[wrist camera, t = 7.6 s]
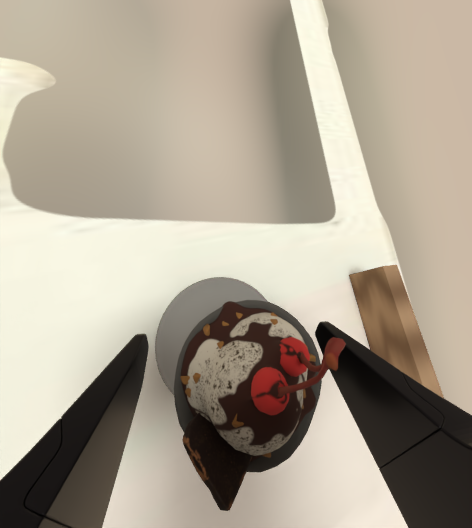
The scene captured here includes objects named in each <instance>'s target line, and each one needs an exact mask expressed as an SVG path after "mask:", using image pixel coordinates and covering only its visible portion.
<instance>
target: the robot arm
mask: <svg viewBox="0 0 472 528" xmlns="http://www.w3.org/2000/svg"><path fill="white" fill-rule="evenodd" d="M315 335H316V338H317V341H318V343H319V346H320V349H321V351H322V354H323V356H324V354H325V348H326V345H327V343H328V341H329V340H330V339H331V338H333V337H334V338H340V339H343V340H344V342H345V343H346V345H345V347H344V349H343V350H342V351H341V353H340V355H339V356H338V369H337V370H336V371H335V370H333V369H331V368H330V369H329V370H330V372H331V374H332V376H333V378H334V380H335V382H336V384H337V386H338V388H339V390H340V392H341V394H342V396H343V398H344V400H345V402H346V404H347V406H348V408H349V410H350V412H351V414H352V416H353V418H354V420H355V422H356V424H357V426H358V428H359V430H360V432H361V434H362V436H363V438H364V440H365V442H366V444H367V446H368V448H369V450H370V452H371V454H372V456H373V457H374V459H375V461H376V463H377V465H378V467H379V468H380V469H379V470H380V472H381V474H382V476H383V478H384V480H385V482H386V484H387V486H388V488H389V490H390V492H391V494H392V496H393V498H394V500H395V502H396V504H397V506H398V508H399V510H400V512H401V514H402V516H403V518H404V520H405V522H406V524H407V526H408V528H472V415H470V414H468V413H467V412H465V411H463V410H462V409H460V408H458V407H457V406H455V405H454V404H452V403H450V402H449V401H447V400H445V399H444V398H442V397H441V396H439V395H437V394H436V393H434V392H432V391H431V390H429V389H428V388H426V387H424V386H423V385H421V384H420V383H418V382H417V381H415V380H414V379H412V378H411V377H409V376H408V375H406V374H405V373H403V372H401V371H400V370H399V369H397V368H396V367H394V366H393V365H391V364H390V363H388V362H387V361H386V360H384V359H383V358H381V357H380V356H378V355H377V354H375V353H374V352H372V351H371V350H369V349H368V348H366V347H365V346H363V345H362V344H360V343H359V342H357V341H356V340H354V339H353V338H351V337H350V336H348V335H347V334H345V333H344V332H342V331H341V330H339V329H338V328H337V327H335V326H334V325H332V324H331V323H329V322H326V321H325V322H320V323H319V325H318V327H317V329H316V331H315ZM148 348H149V346H148V341H147V336H146V334H137V335H135V336H134V337H133V338H132V339H131V340H130V342H129V343H128V344H127V345H126V346H125V347H124V348H123V349H122V350H121V351H120V353H119V354H118V355H117V356H116V357H115V358H114V359H113V360H112V361H111V362H110V364H109V365H108V366H107V367H106V368H105V369H104V370H103V371H102V372H101V374H100V375H99V376H98V377H97V378H96V379H95V380H94V381H93V382H92V383H91V385H90V386H89V387H88V388H87V389H86V390H85V391H84V392H83V393H82V395H81V396H80V397H79V398H78V399H77V400H76V401H75V402H74V403H73V404H72V406H71V407H70V408H69V409H68V410H67V411H66V412H65V413H64V414H63V415H62V417H61V419H59V420H58V421H57V422H56V423H55V424H54V425H53V426H52V427H51V429H50V430H49V431H48V432H47V433H46V434H45V435H44V436H43V437H42V438H41V439H40V440H39V442H38V443H37V444H36V445H35V446H34V447H33V448H32V449H31V450H30V451H29V452H28V453H27V454H26V455H25V456H24V457H23V458H22V459H21V460H20V461H19V462H18V463H17V464H16V465H15V466H14V467H13V468H12V469H11V470H10V471H9V472H8V473H7V474H6V475H5V476H4V477H3V478H2V479H1V480H0V528H102V525H103V522H104V518H105V515H106V511H107V508H108V504H109V501H110V497H111V494H112V490H113V487H114V483H115V480H116V476H117V473H118V469H119V466H120V462H121V459H122V455H123V451H124V448H125V444H126V441H127V437H128V434H129V430H130V427H131V423H132V420H133V416H134V413H135V409H136V406H137V402H138V399H139V395H140V392H141V388H142V384H143V378H144V372H145V367H146V361H147V355H148Z"/></svg>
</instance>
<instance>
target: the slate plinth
mask: <svg viewBox="0 0 472 528" xmlns="http://www.w3.org/2000/svg"><path fill="white" fill-rule="evenodd" d="M244 300H260V301H265V302H267V300H266V299H265V298H264V297H263V296H262V294H260V293H259V292H258V291H257V290H256V289H254V288H253V287H252V286H250V285H248V284H246V283H244V282H242V281H239V280H236V279H232V278H224V277H219V278H210V279H205V280H202V281H199V282H197V283H195V284H192V285H191V286H189V287H187V288H186V289H185V290H183V291H182V292H181V293H179V294H178V295H177V296H176V297H175V298H174V299H173V301H172V302H171V303H170V305H169V306H168V307H167V309H166V311H165V312H164V314H163V316H162V318H161V321H160V323H159V327H158V330H157V335H156V341H155V353H156V361H157V366H158V369H159V372H160V375H161V377H162V379H163V381H164V383H165V384H166V386H167V387H168V389H169V390H170V391H171V392H172V394H174V381H175V373H176V367H177V363H178V358H179V354H180V352H181V350H182V347H183V345H184V343H185V341H186V339H187V338H188V336H189V334H190V333H191V331H192V330H193V329H194V328H195V326H196V325H197V324H198V323H199V322H200V321H201V320H202V319H204V318H205V317H206V316H208V315H209V314H210V313H212V312H214V311H215V310H217V309H219V308H220V307H222V306H223V304H224V303H226V302H228V301H232V302H239V301H244Z"/></svg>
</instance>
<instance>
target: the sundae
mask: <svg viewBox="0 0 472 528" xmlns="http://www.w3.org/2000/svg"><path fill="white" fill-rule="evenodd" d="M345 345H346V343H345V342H344V340H343V339H340V338H334V337H333V338H331V339H330V340H329V341H328V343H327V345H326V348H325V354H324V356H323V360H322V364H320V359H319V355H318V352H317V350H316V347H315V345H314V342H313V340H312V338H311V337H310V336H309V334H308V333H307V331H306V330H305V328H304V327H303V326H302V325H301V324H300V323H299V322H298V320H297V319H296V318H294V317H293V316H292V315H291V314H289V313H288V312H287V311H285V310H284V309H282V308H280V307H279V306H277V305H274V304H272V303H270V302H265V301H260V300H244V301H239V302H232V301H228V302H226V303H224V304H223V306H222V307H220V308H219V309H217V310H215V311H214V312H212V313H210V314H209V315H208V316H206V317H205V318H204V319H202V320H201V321H200V322H199V323H198V324H197V325H196V326H195V328H194V329H193V330H192V331H191V333H190V334H189V336H188V338H187V339H186V341H185V343H184V345H183V347H182V350H181V352H180V354H179V358H178V363H177V367H176V373H175V381H174V397H175V407H176V411H177V415H178V419H179V424H180V426H181V428H182V429H183V431H184V436H183V444H184V447H185V449H186V451H187V453H188V455H189V457H190V459H191V461H192V463H193V465H194V467H195V469H196V471H197V472H198V474H199V475H200V477H201V479H202V480H203V482H204V483H205V484H206V486H207V487H208V488H209V490H210V491H211V494H212V496H213V498H214V500H215V501H216V503H217V505H218V507H219V508H220V510H225V511H228V510H230V508H231V506H232V504H233V501H234V499H235V497H236V495H237V493H238V490H239V488H240V486H241V484H242V481H243V479H244V476H245V474H246V472H263V471H265V470H268V469H271V468H273V467H276V466H278V465H279V464H281V463H282V462H284V461H285V460H287V459H288V458H290V456H291V455H292V454H293V453H294V451H295V450H296V449H297V447H298V446H299V445H300V443H301V442H302V440H303V438H304V436H305V435H306V433H307V431H308V428H309V426H310V423H311V420H312V417H313V415H314V412H315V409H316V406H317V402H318V399H319V396H320V389H321V379H322V378H323V376H324V375H325V373H326V372H327V370H328V369H330V368H331V369H333V370H335V371H336V370H337V369H338V356H339V355H340V353H341V351H342V350H343V349H344V347H345Z"/></svg>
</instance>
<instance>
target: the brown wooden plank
mask: <svg viewBox="0 0 472 528" xmlns="http://www.w3.org/2000/svg"><path fill="white" fill-rule="evenodd" d="M349 276H350V279H351V283H352V286H353V290H354V293H355V297H356V300H357V304H358V307H359V311H360V314H361V318H362V321H363V325H364V328H365V332H366V335H367V339H368V342H369V346H370V349H371V351H372V352H374V353H375V354H377V355H378V356H380V357H381V358H383V359H384V360H386V361H387V362H388V363H390V364H391V365H393V366H394V367H396V368H397V369H399V370H400V371H401V372H403V373H405V374H406V375H408V376H409V377H411V378H412V379H414V380H415V381H417V382H418V383H420V384H421V385H423V386H424V387H426V388H428V389H429V390H431V391H432V392H434V393H436V394H437V395H439V396H441V397H442V398H444V397H443V394H442V391H441V388H440V386H439V383H438V380H437V377H436V374H435V371H434V369H433V366H432V363H431V360H430V358H429V354H428V352H427V349H426V346H425V343H424V340H423V338H422V335H421V332H420V329H419V326H418V323H417V321H416V318H415V315H414V312H413V309H412V307H411V304H410V301H409V298H408V295H407V292H406V290H405V287H404V284H403V281H402V278H401V276H400V273H399V270H398V267H397V265H391V266H382V267H378V268H375V269H371V270H367V271H363V272H359V273H355V274H351V275H349Z"/></svg>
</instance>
